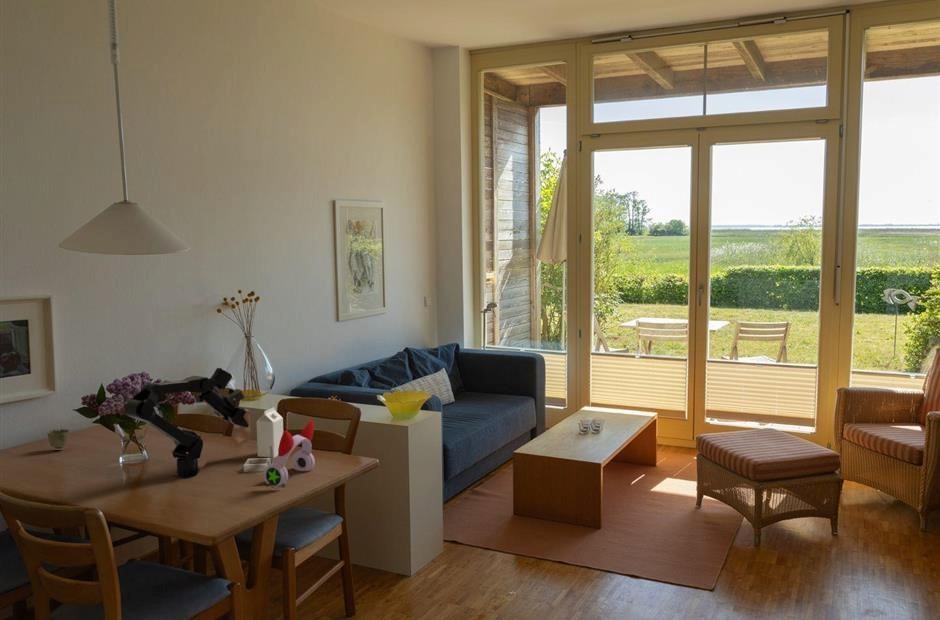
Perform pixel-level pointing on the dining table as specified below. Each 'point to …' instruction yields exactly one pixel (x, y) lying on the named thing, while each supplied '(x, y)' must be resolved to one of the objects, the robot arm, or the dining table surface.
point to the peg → (243, 431)
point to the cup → (58, 438)
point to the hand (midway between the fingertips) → (245, 425)
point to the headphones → (300, 459)
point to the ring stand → (257, 464)
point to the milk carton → (269, 432)
